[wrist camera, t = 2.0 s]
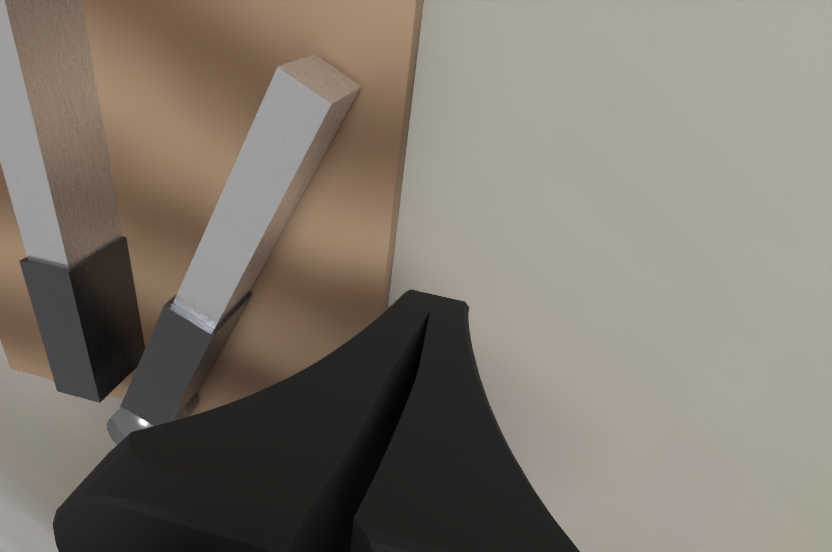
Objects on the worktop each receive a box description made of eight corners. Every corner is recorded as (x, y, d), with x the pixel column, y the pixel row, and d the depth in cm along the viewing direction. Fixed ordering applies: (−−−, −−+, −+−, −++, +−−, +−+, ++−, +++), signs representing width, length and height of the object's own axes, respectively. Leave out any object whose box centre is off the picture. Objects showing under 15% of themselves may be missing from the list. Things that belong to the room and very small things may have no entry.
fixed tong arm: (146, 358, 24) (99, 402, 21) (108, 347, 24) (57, 391, 21) (80, -32, 16) (-6, -33, 14) (24, -41, 16) (-70, -43, 14)
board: (371, 446, 25) (364, 463, 24) (27, 355, 27) (10, 368, 26) (425, -20, 15) (418, -19, 14) (-118, -102, 17) (-152, -106, 16)
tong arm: (188, 421, 25) (150, 468, 23) (143, 394, 25) (99, 439, 22) (372, 94, 16) (340, 116, 13) (303, 45, 16) (258, 58, 13)
